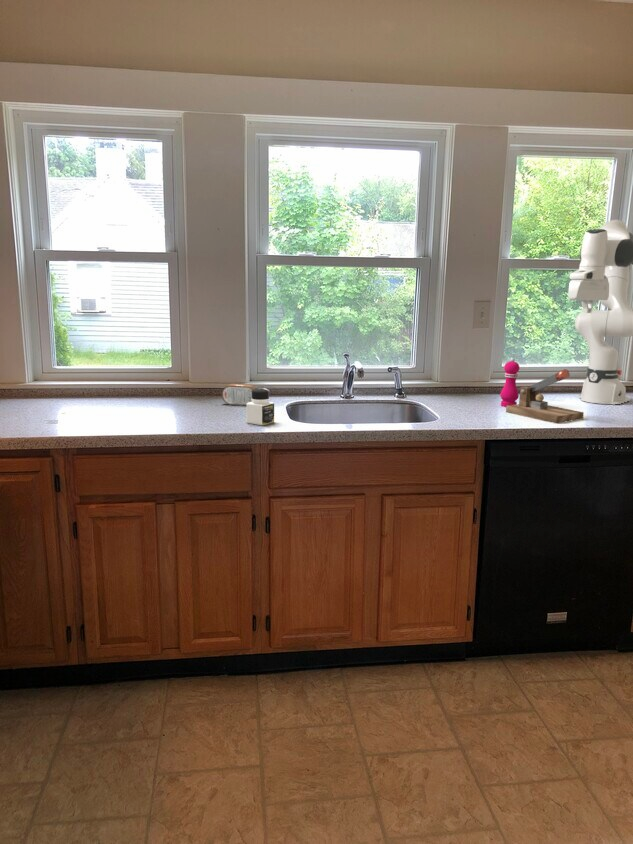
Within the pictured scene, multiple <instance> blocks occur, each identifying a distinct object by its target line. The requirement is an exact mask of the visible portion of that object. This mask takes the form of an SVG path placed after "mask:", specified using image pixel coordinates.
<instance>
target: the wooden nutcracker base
mask: <svg viewBox="0 0 633 844" xmlns="http://www.w3.org/2000/svg"><path fill="white" fill-rule="evenodd" d="M530 386H531V385H529V386H520V388H519V397H518V399H519V400H518V401H519V402H518V403H517V404H516V405H509V406H506V407H505V408H506V409H505V413H508V414H512V415H517V416H522V417H527V418H530V419H531V418H532V419H536V420H540V421H544V422H549V423H552V422H554V423H553V424H560V423H559V422H561V423H566V422H565V421H567V422H572V421H571V420H573V421H577V420H576V419H579V420H583V419H584V411H578V410H574V409H569V408H564V407H559V406H554V405H548V404H549V401H545V400H544V399H545V397H544V395H543V394H542V393H540V390H538V391H536V392H534V393H532V394H530V389H531V388H529V387H530ZM582 418H583V419H582Z"/></svg>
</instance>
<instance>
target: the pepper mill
mask: <svg viewBox="0 0 633 844" xmlns="http://www.w3.org/2000/svg"><path fill="white" fill-rule="evenodd" d="M503 370H504V371H505V373H504V377H505V383H504V386H503V388H502V389H501V390H500V394H499V396H500V399H501V401H500V406H501V407H503V406H504V407H503V408H506V406H509V405H516V404H518V402H517V400H518V399H519V398H520V393H519V391H518V387H517V386H516V385H517V384H516V382H517V378H518V375H519V374H518V372H519V371H520V365H519V363H518V362H517V361H516V360H515V357H510V358H509V361H508V362H506V363H505V364H504V366H503Z"/></svg>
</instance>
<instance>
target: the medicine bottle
mask: <svg viewBox="0 0 633 844" xmlns="http://www.w3.org/2000/svg"><path fill="white" fill-rule="evenodd" d="M252 401H253V402H250V403H247V404H246V406H245V407H246V424H250V425H257V426H265V425H268V424H272V423H274V422H275V402H273V401H270V390H269V389H267V388H264V387H263V388H261V387H259V388H257V387H256V389H253V390H252Z"/></svg>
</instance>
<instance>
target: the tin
mask: <svg viewBox="0 0 633 844" xmlns="http://www.w3.org/2000/svg"><path fill="white" fill-rule="evenodd" d="M253 389H257V387H256V386H254V385H252V384H241V383H230V384H229V383H228V384H227V385H225V387H224V388H223V389H222V390H221V398H222V400H223V401H224V403H226V405H230V406H240V405H241V406H243V407H244V406H245V407H246V404H247V403H250V402H253V401H252V390H253Z"/></svg>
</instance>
